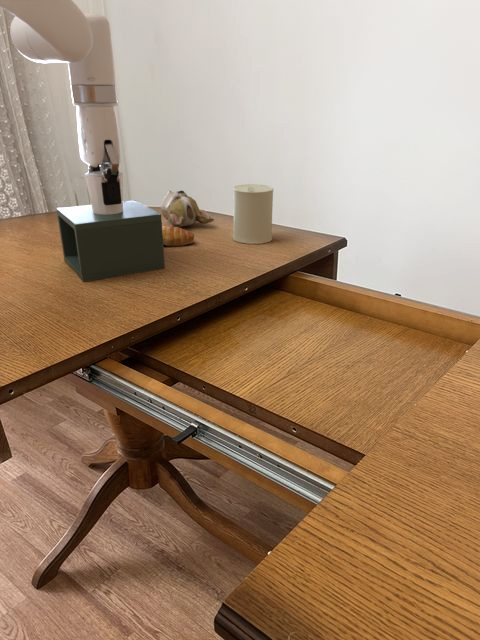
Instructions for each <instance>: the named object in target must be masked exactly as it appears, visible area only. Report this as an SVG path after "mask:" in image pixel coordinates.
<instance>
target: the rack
mask: <svg viewBox="0 0 480 640" xmlns="http://www.w3.org/2000/svg"><path fill="white" fill-rule="evenodd" d="M56 216H57V223H58V229H59V236H60V241H61V242H60V243H61V248H62V249H61V250H62V256H63V261H64V263H66V264H67V266H68V267H69V268H70V269H71V270H72V271H73V272H74V273H75V274H76V275H77V276H78V278H79V279H80V280H81V281H82V282H91V281H96V280H101V279H102V280H103V279H108V278H114V277H121V276H127V275H132V274H139V273H144V272H150V271H151V272H152V271H156V270H162V269H165V268H166V263H165V250H164V249H165V248H164V244H163V234H162V226H163V222H162V213H159V212H157V211H156V210H154V209H152V208H151V207H148V206H147V205H145V204H143V203H141V202H139V201H138V200H136V199H135V200H125V201H124V200H123V211H122V212H121V213H117V214H108V215H103V214H95V213H93V211H92V206H91V204H86V205H76V206H65V207H56Z"/></svg>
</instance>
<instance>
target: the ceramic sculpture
mask: <svg viewBox="0 0 480 640" xmlns="http://www.w3.org/2000/svg"><path fill="white" fill-rule="evenodd" d="M160 210H161V215H162V216H163V217H164V219H166V221H168V222H169V223H170V224H171V226H174V227H178V228H182V227H189V226H192V225H194V224H195V223H196V222H198V223H199V224H203V225H204V224H205V225H206V224H209V223H212V222H214V221H215V219H214V218H213V217H211V216H210V214H209V213H208V212H207V211H205V210H204V209H200V208H199V205H198V203H197V201H196V200H195V199H194V198H193V197H191V196H188V193H186V192H185V190H178V191H176V192H173V191H172V190H168V191H167V193H166V195H165V196H164V197H163V200H162V203H161V206H160Z"/></svg>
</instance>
